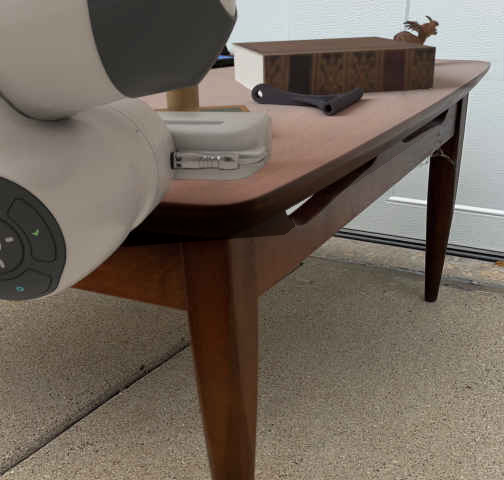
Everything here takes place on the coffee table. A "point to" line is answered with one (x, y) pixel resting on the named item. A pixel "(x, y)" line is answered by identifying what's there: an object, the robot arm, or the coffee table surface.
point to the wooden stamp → (183, 100)
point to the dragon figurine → (422, 30)
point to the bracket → (305, 98)
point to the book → (335, 65)
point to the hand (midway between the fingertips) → (163, 121)
